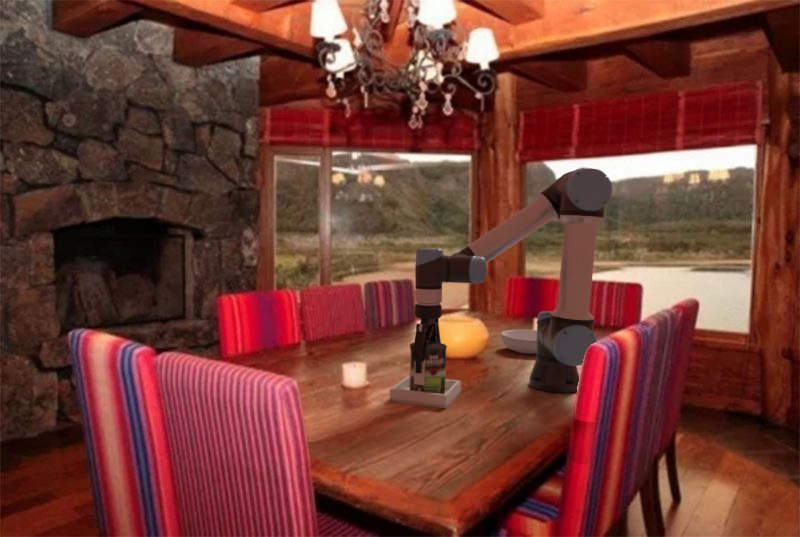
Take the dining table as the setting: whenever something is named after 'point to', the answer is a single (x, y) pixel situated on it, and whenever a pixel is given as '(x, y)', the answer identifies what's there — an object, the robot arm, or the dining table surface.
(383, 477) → the dining table surface
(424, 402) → the tray
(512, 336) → the serving bowl
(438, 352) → the coffee can
